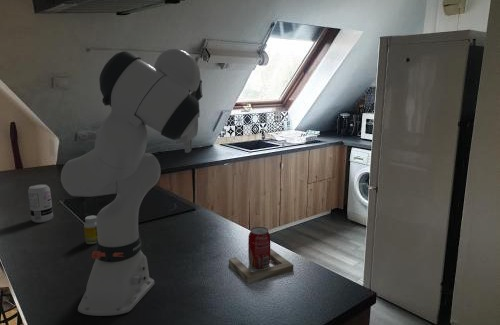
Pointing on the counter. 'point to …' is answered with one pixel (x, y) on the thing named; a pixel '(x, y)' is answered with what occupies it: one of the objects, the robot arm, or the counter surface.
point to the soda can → (259, 247)
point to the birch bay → (250, 277)
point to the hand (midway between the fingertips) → (188, 151)
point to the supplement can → (40, 203)
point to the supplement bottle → (90, 230)
